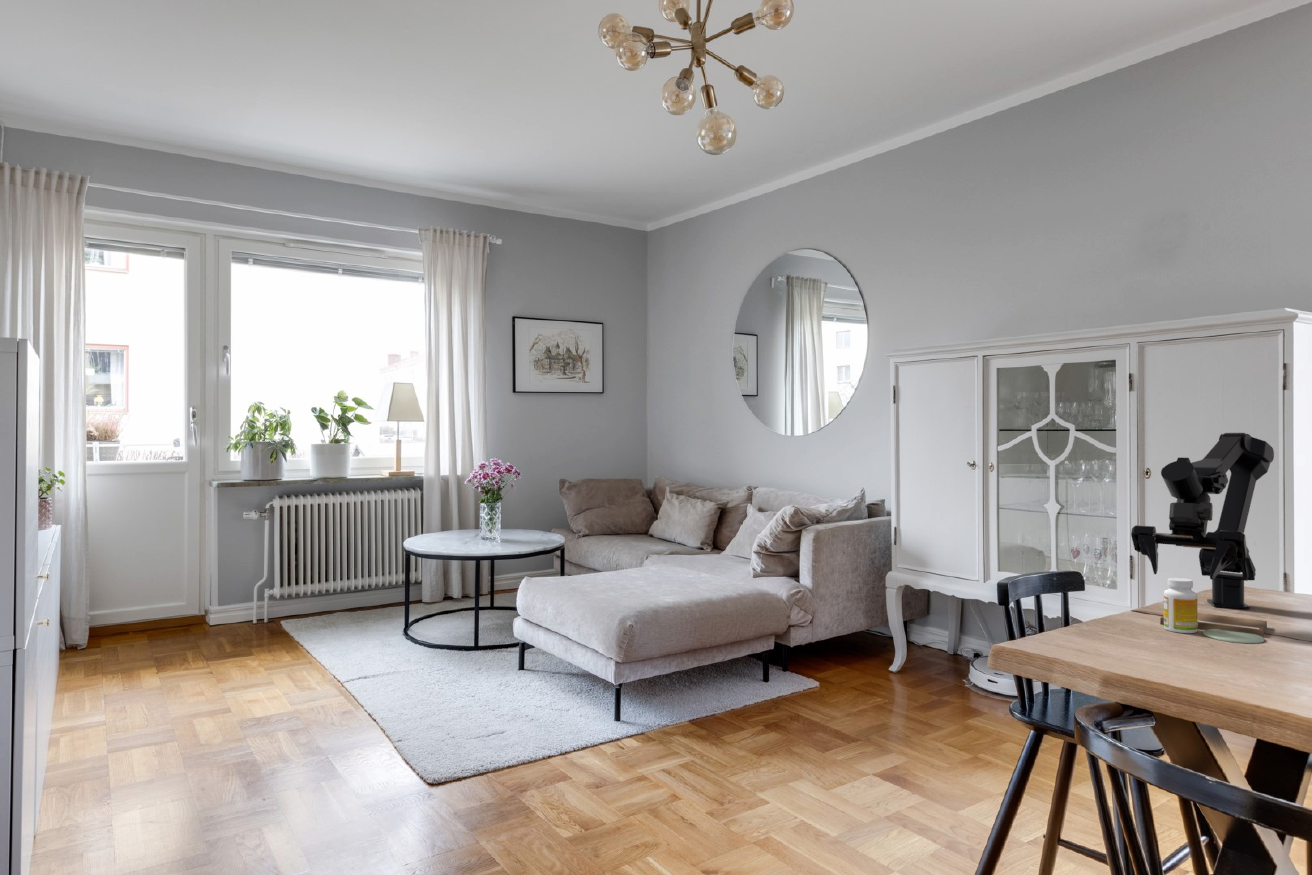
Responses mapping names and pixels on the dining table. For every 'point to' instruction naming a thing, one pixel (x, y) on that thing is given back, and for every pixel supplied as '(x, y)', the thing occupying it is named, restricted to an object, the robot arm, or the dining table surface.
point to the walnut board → (1229, 624)
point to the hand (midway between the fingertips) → (1182, 575)
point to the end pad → (1233, 636)
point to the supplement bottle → (1180, 606)
